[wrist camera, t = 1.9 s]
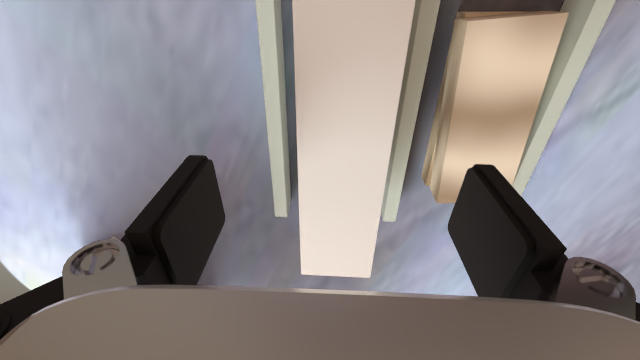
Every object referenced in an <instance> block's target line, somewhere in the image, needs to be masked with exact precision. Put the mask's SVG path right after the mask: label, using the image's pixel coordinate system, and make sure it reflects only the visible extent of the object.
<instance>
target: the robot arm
mask: <svg viewBox="0 0 640 360" xmlns="http://www.w3.org/2000/svg"><path fill="white" fill-rule="evenodd" d="M224 222H225V213H224V209H223V205H222V200H221V196H220V191H219V187H218V183H217V178H216V174H215V169H214V165H213V162H212V160H208V158H207V157H206V156H200V155H189V156H188V157H187V158H186V159H185V160H184V162H183V163H182V164H181V165H180V166H179V168H178V169H177V170H176V171H175V172H174V174H173V175H172V176H171V177H170V178H169V180H168V181H167V182H166V183H165V184H164V186H163V187H162V188H161V189H160V190H159V192H158V193H157V194H156V195H155V196H154V198H153V199H152V200H151V201H150V202H149V204H148V205H147V206H146V207H145V208H144V209H143V211H142V212H141V213H140V214H139V215H138V217H137V218H136V219H135V220H134V221H133V223H132V224H131V225H130V226H129V227H128V229H127V230H126V231H125V235H124V236H123V238H122V239H121V240H120V241H119V240H116V239H106V240H100V241H97V242H93V243H91V244H89V245H86V246H84V247H82V248H81V249H79V250H78V251H76V252H75V253H74V254H73V255H72V256H71V257H70V258H68V260H67V261H66V263H65V264H64V266H63V271H62V275H63V276H62V277H59V278H57V279H55V280H53V281H51V282H48V283H46V284H44V285H42V286H40V287H37V288H35V289H33V290H31V291H29V292H27V293H24V294H22V295H20V296H18V297H16V298H13V299H11V300H9V301H7V302H5V303H3V304H0V360H640V304H639V303H637V302H636V295H635V291H634V288H633V287H632V286H631V284H630V283H629V281H628V280H626V279H625V278H624V277H623V276H622V275H621V274H620V273H618V272H617V271H615V270H614V269H612V268H611V267H609V266H607V265H605V264H603V263H601V262H598V261H595V260H592V259H589V258H583V257H573V258H570V259H568V258H567V257H566V255H565V254H564V252H565V251H566V249H567V248H566V247H565V246H564V245H563V244H562V243H561V241H560V240H559V239H558V238H557V237H556V236H555V235H554V233H553V232H552V231H551V230H550V229H549V228H548V227H547V225H546V224H545V223H544V222H543V221H542V220H541V219H540V217H539V216H538V215H537V214H536V213H535V212H534V211H533V209H532V208H531V207H530V206H529V205H528V204H527V203H526V201H525V200H524V199H523V198H522V197H521V196H520V195H519V193H518V192H517V191H516V190H515V189H514V188H513V187H512V185H511V184H510V183H509V182H508V181H507V180H506V178H505V177H504V176H503V175H502V174H501V173H500V172H499V170H498V169H497V168H496V167H495V166H494V165H490V164H475V165H474V166H473V167H472V168H469V169H468V170H467V172H466V175H465V177H464V180H463V183H462V186H461V189H460V191H459V194H458V197H457V200H456V203H455V206H454V208H453V211H452V214H451V217H450V220H449V223H448V231H449V234H450V236H451V238H452V240H453V243H454V245H455V247H456V249H457V251H458V253H459V256H460V258H461V260H462V262H463V264H464V267H465V269H466V271H467V273H468V275H469V277H470V280H471V282H472V284H473V286H474V288H475V291H476V293H477V295H478V297H477V296H456V295H435V294H414V293H393V292H370V291H346V290H322V289H298V288H271V287H244V286H214V285H197V282H198V280H199V278H200V276H201V274H202V271H203V269H204V267H205V265H206V262H207V260H208V258H209V256H210V254H211V251H212V249H213V247H214V245H215V243H216V240H217V238H218V236H219V234H220V232H221V229H222V227H223V225H224Z"/></svg>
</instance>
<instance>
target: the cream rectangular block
mask: <svg viewBox="0 0 640 360" xmlns="http://www.w3.org/2000/svg"><path fill="white" fill-rule="evenodd" d="M415 1H416V0H292V4H293V35H294V66H295V97H296V128H297V159H298V190H299V221H300V252H301V274H304V275H324V276H344V277H364V278H370V274H371V268H372V262H373V256H374V250H375V244H376V238H377V232H378V226H379V219H380V213H381V207H382V201H383V195H384V189H385V183H386V177H387V171H388V165H389V159H390V153H391V147H392V141H393V135H394V128H395V122H396V116H397V110H398V104H399V98H400V92H401V86H402V80H403V74H404V68H405V62H406V56H407V50H408V43H409V37H410V31H411V25H412V19H413V13H414V7H415Z"/></svg>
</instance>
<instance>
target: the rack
mask: <svg viewBox="0 0 640 360" xmlns="http://www.w3.org/2000/svg"><path fill="white" fill-rule="evenodd" d="M255 1H256V12H257V23H258V33H259V44H260V55H261V66H262V77H263V88H264V99H265V110H266V121H267V132H268V143H269V154H270V165H271V176H272V187H273V198H274V209H275V217H287V215H288V211H289V206H290V202H291V189H290V169H289V149H288V129H287V109H286V90H285V70H284V50H283V30H282V10H281V0H255ZM440 1H441V0H416V1H415V7H414V13H413V19H412V25H411V31H410V37H409V43H408V50H407V56H406V62H405V68H404V74H403V80H402V86H401V92H400V98H399V104H398V110H397V116H396V122H395V128H394V135H393V141H392V147H391V153H390V159H389V165H388V171H387V177H386V183H385V189H384V195H383V201H382V207H381V213H382V218H383V221H391V222H395V220H396V215H397V211H398V206H399V201H400V196H401V191H402V186H403V181H404V176H405V172H406V167H407V162H408V157H409V152H410V147H411V142H412V137H413V132H414V128H415V123H416V118H417V113H418V108H419V103H420V98H421V93H422V88H423V84H424V79H425V74H426V69H427V64H428V59H429V54H430V49H431V45H432V40H433V35H434V30H435V25H436V20H437V15H438V10H439V5H440ZM615 1H616V0H564V2H563V5H562V7H561V9H560V12H569V14H568V17H567V20H566V23H565V26H564V29H563V32H562V35H561V38H560V41H559V44H558V47H557V51H556V54H555V57H554V60H553V63H552V66H551V69H550V72H549V75H548V78H547V81H546V84H545V87H544V90H543V93H542V96H541V99H540V102H539V105H538V108H537V111H536V115H535V118H534V121H533V124H532V127H531V130H530V133H529V136H528V139H527V142H526V145H525V148H524V151H523V154H522V157H521V160H520V163H519V166H518V169H517V172H516V175H515V179H514V182H513V185H512V187H513V188H514V189H515V190H516V191H517V192H518V193H519V195H520V196H521V195H522V193H523V191H524V189H525V187H526V185H527V183H528V180H529V178H530V176H531V174H532V172H533V170H534V168H535V166H536V164H537V162H538V160H539V158H540V156H541V154H542V152H543V150H544V148H545V145H546V143H547V141H548V139H549V137H550V135H551V133H552V131H553V129H554V127H555V125H556V123H557V121H558V119H559V117H560V115H561V112H562V110H563V108H564V106H565V104H566V102H567V100H568V98H569V96H570V94H571V92H572V90H573V88H574V86H575V84H576V82H577V80H578V77H579V75H580V73H581V71H582V69H583V67H584V65H585V63H586V61H587V59H588V57H589V55H590V53H591V51H592V49H593V47H594V44H595V42H596V40H597V38H598V36H599V34H600V32H601V30H602V28H603V26H604V24H605V22H606V20H607V18H608V16H609V14H610V11H611V9H612V7H613V5H614V3H615Z"/></svg>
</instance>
